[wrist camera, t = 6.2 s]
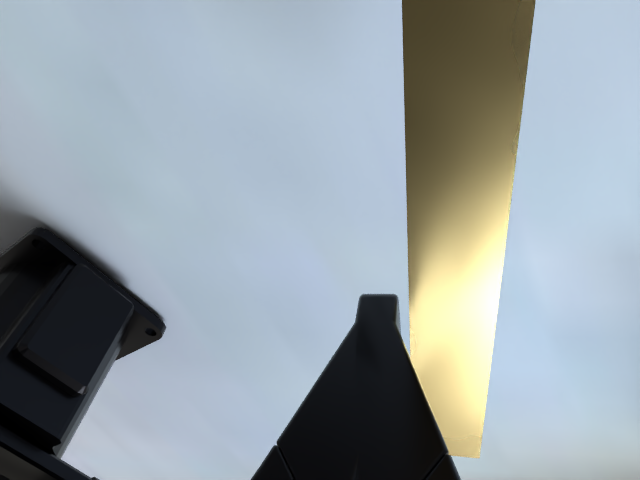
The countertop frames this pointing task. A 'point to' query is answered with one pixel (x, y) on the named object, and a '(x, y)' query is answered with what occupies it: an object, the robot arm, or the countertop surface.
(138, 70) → the countertop surface
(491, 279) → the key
